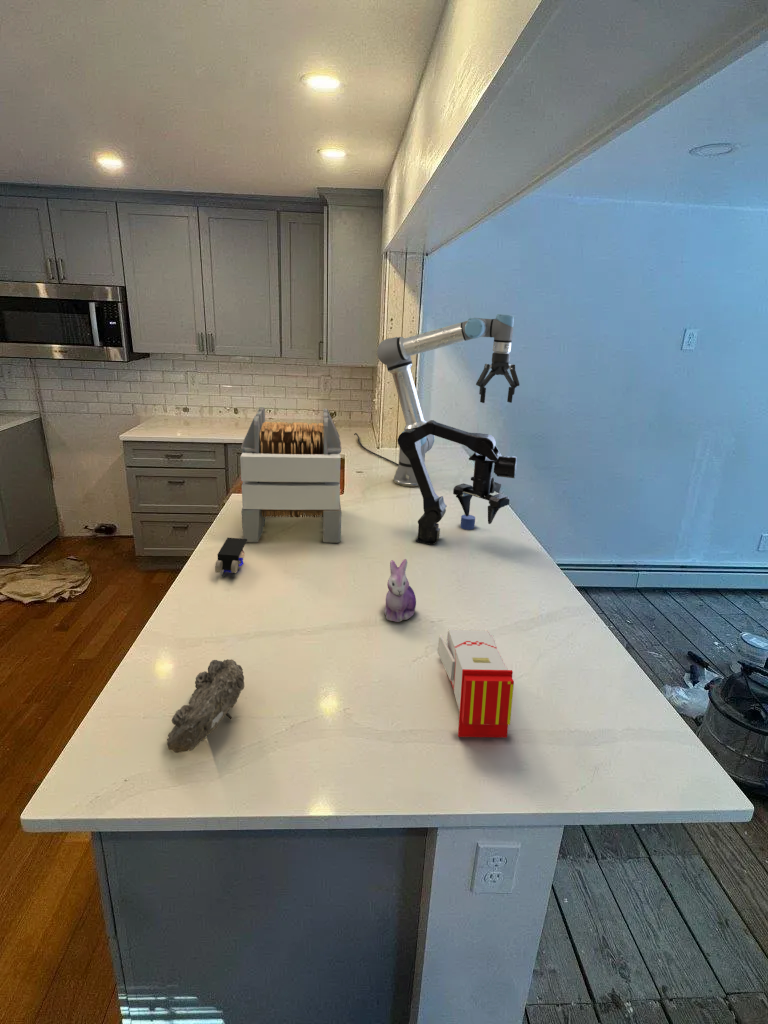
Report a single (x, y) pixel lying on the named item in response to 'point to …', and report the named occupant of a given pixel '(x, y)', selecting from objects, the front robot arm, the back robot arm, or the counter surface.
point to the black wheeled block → (230, 556)
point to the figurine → (399, 594)
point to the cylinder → (467, 522)
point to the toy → (478, 682)
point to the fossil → (206, 705)
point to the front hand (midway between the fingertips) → (478, 519)
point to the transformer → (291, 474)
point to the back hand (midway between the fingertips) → (495, 402)
